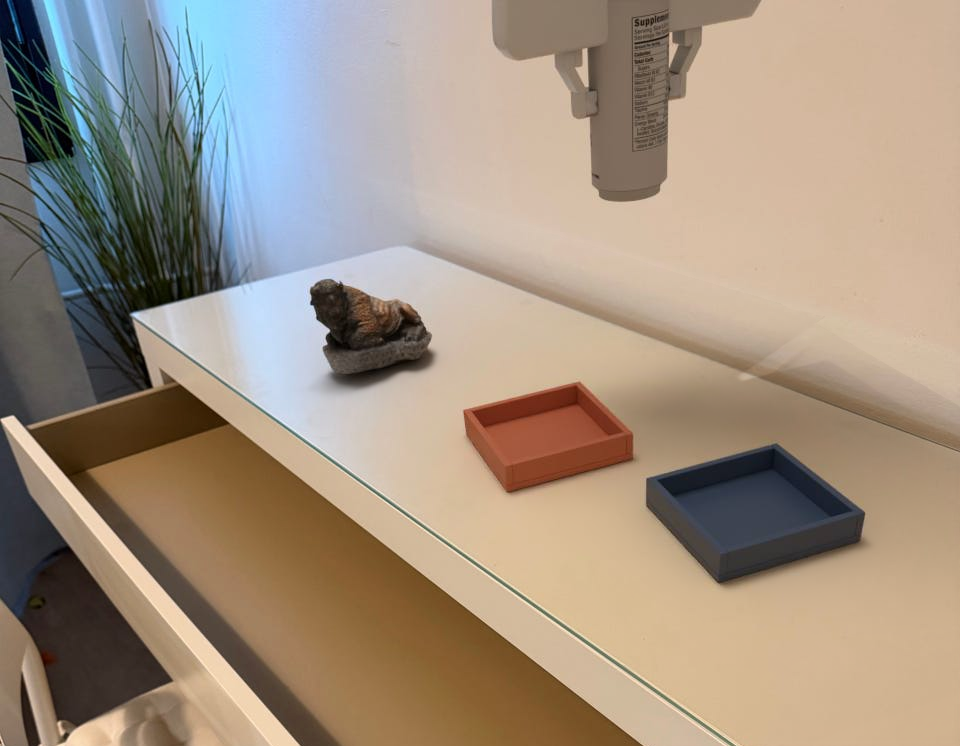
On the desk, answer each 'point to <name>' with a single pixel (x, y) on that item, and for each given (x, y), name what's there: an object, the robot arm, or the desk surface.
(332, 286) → the bison figurine
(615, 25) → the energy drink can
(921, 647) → the desk surface
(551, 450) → the terracotta tray
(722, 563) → the slate tray
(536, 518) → the desk surface
